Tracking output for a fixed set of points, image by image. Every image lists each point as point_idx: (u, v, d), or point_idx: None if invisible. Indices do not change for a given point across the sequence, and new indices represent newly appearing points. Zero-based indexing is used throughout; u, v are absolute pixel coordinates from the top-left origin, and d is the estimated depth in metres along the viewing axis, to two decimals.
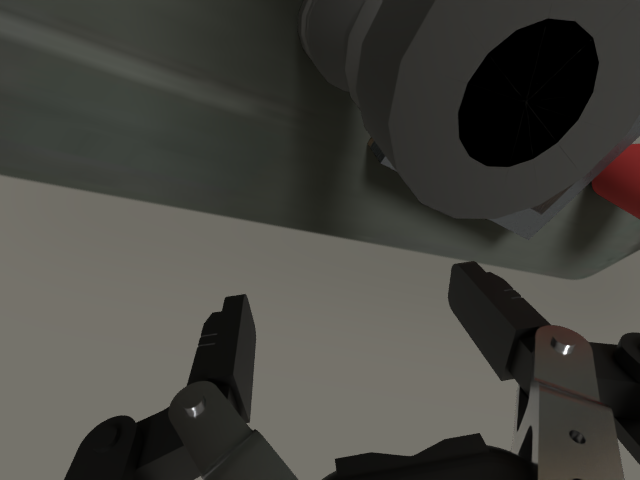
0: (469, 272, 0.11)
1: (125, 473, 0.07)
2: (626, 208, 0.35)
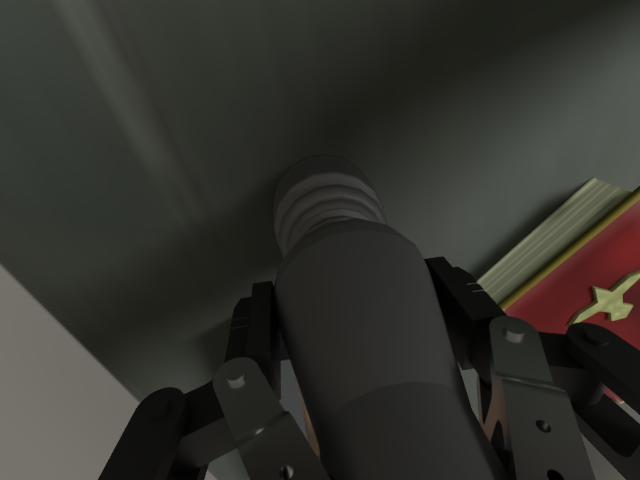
0: (436, 267, 0.12)
1: (171, 442, 0.07)
2: None
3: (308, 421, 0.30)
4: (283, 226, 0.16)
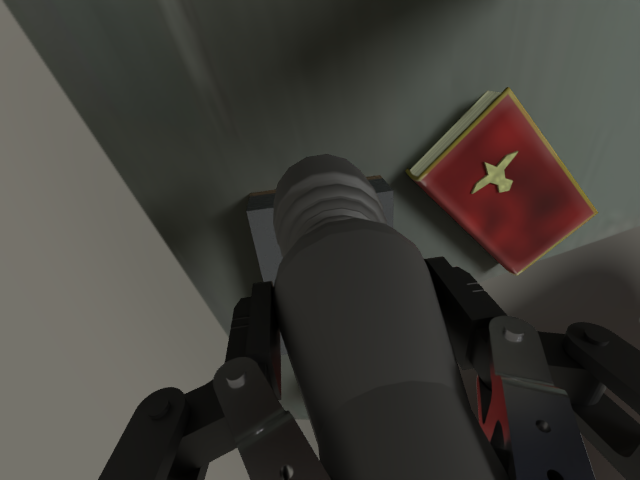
0: (436, 267, 0.12)
1: (172, 442, 0.07)
2: None
3: None
4: (283, 226, 0.16)
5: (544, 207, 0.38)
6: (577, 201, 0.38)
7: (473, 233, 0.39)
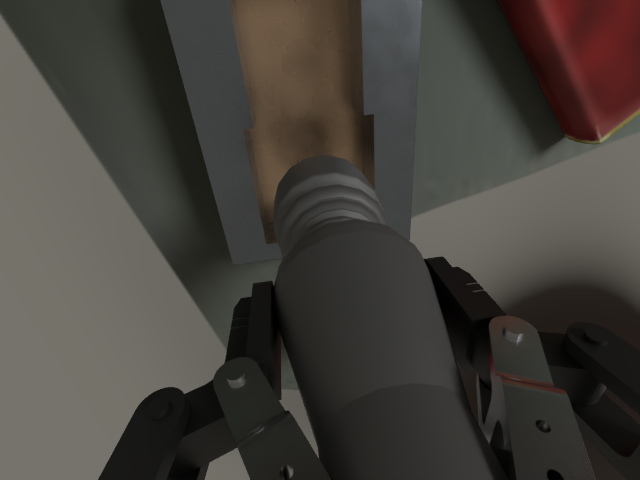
0: (436, 267, 0.12)
1: (172, 442, 0.07)
2: None
3: (262, 155, 0.26)
4: (283, 226, 0.16)
5: None
6: None
7: (551, 39, 0.23)
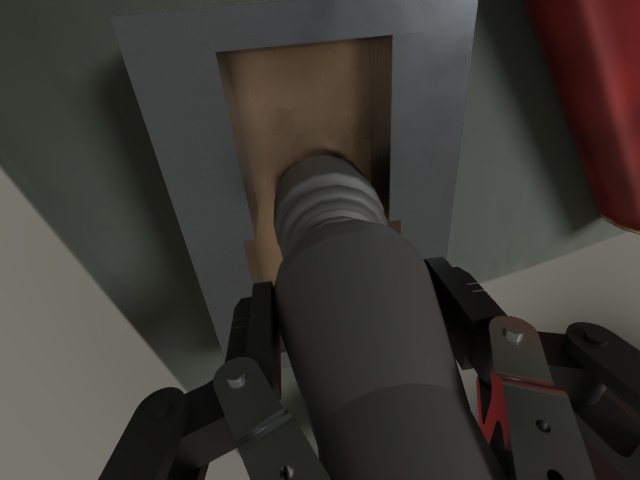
0: (436, 267, 0.12)
1: (172, 442, 0.07)
2: None
3: (264, 247, 0.23)
4: (283, 226, 0.16)
5: None
6: None
7: (611, 120, 0.19)
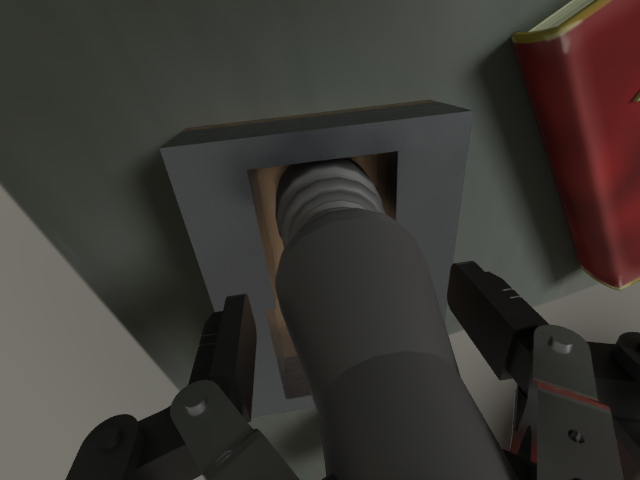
0: (468, 272, 0.11)
1: (127, 471, 0.07)
2: None
3: None
4: (285, 217, 0.16)
5: None
6: None
7: (595, 192, 0.21)
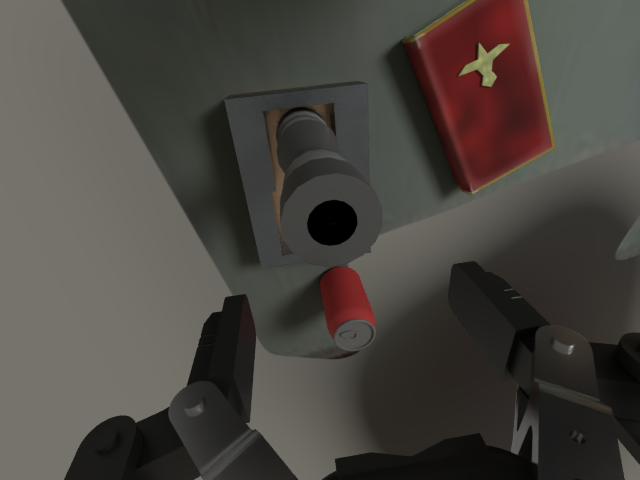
0: (469, 272, 0.11)
1: (125, 472, 0.07)
2: (324, 300, 0.47)
3: (279, 200, 0.43)
4: (281, 134, 0.34)
5: (515, 121, 0.39)
6: (542, 127, 0.40)
7: (447, 127, 0.39)
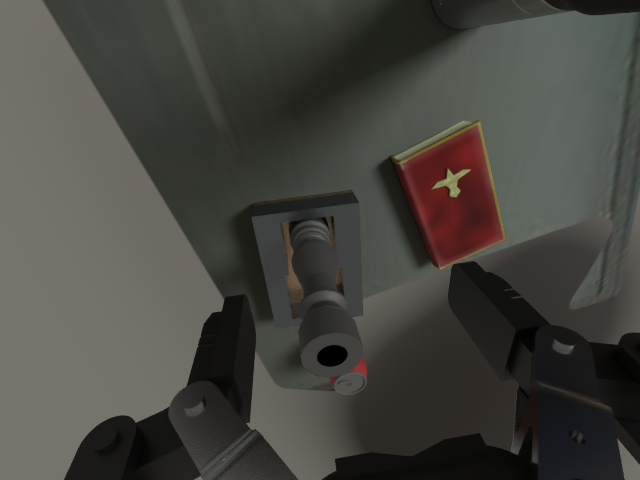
0: (469, 272, 0.11)
1: (125, 473, 0.07)
2: None
3: (290, 275, 0.54)
4: (293, 239, 0.45)
5: (474, 220, 0.50)
6: (496, 225, 0.51)
7: (421, 222, 0.50)
